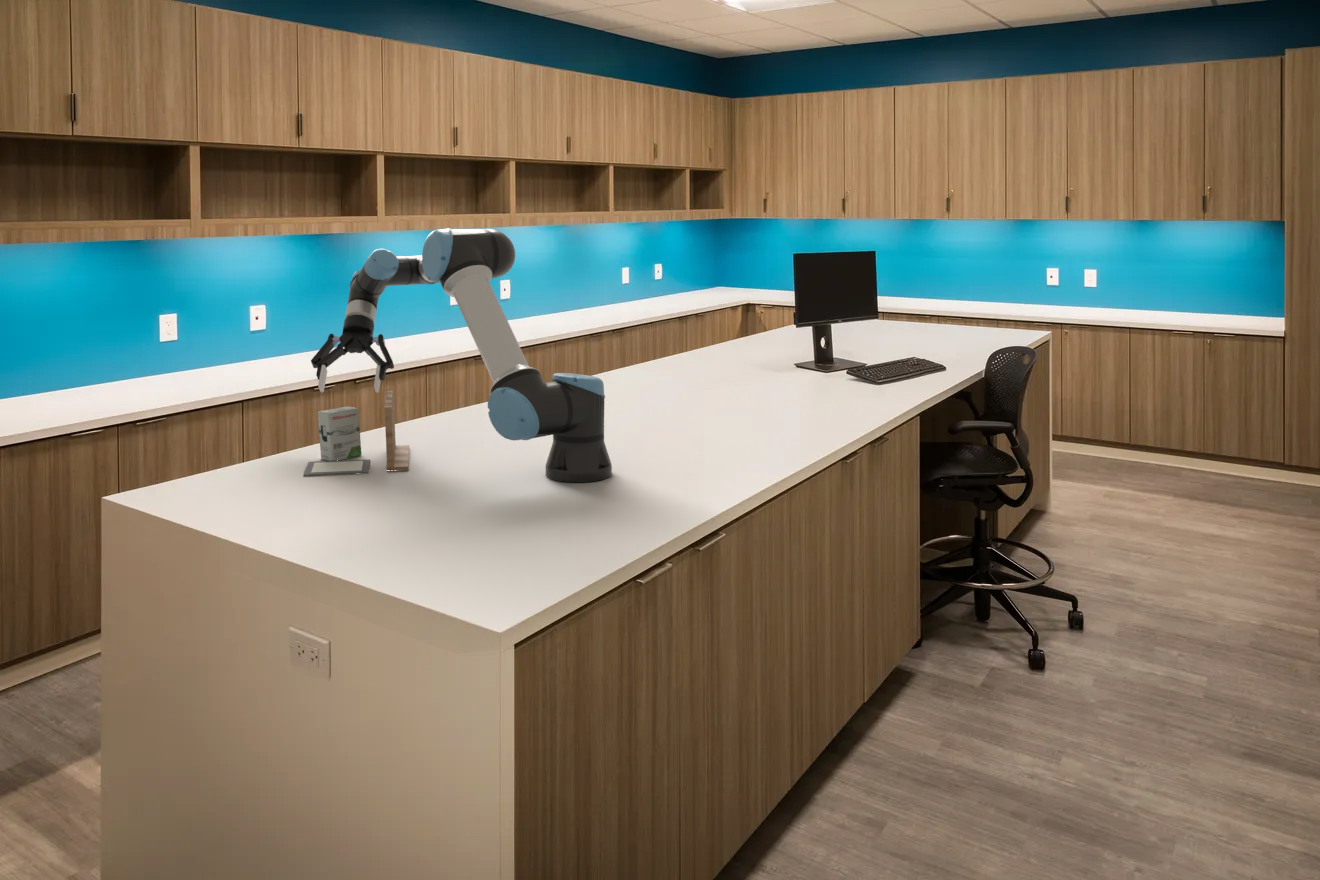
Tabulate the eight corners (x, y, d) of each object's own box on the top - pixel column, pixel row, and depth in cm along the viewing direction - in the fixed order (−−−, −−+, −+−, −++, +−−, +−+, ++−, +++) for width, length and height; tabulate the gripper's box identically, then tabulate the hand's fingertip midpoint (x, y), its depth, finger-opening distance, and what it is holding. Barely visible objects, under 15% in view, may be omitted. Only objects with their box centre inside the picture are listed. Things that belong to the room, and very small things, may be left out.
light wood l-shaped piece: (408, 470, 240) (406, 406, 236) (386, 471, 238) (383, 407, 235) (409, 448, 260) (406, 389, 257) (388, 449, 259) (385, 390, 256)
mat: (368, 473, 237) (367, 471, 237) (303, 476, 234) (303, 474, 233) (370, 460, 248) (370, 458, 248) (308, 463, 245) (308, 461, 245)
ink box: (350, 452, 256) (347, 405, 253) (362, 455, 253) (360, 407, 250) (319, 458, 249) (316, 410, 247) (331, 462, 246) (328, 413, 244)
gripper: (410, 331, 273) (401, 398, 262) (314, 330, 272) (301, 397, 261) (405, 313, 267) (396, 380, 256) (307, 312, 266) (293, 380, 255)
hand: (348, 389), depth 258 cm, fingers open, 13 cm apart
